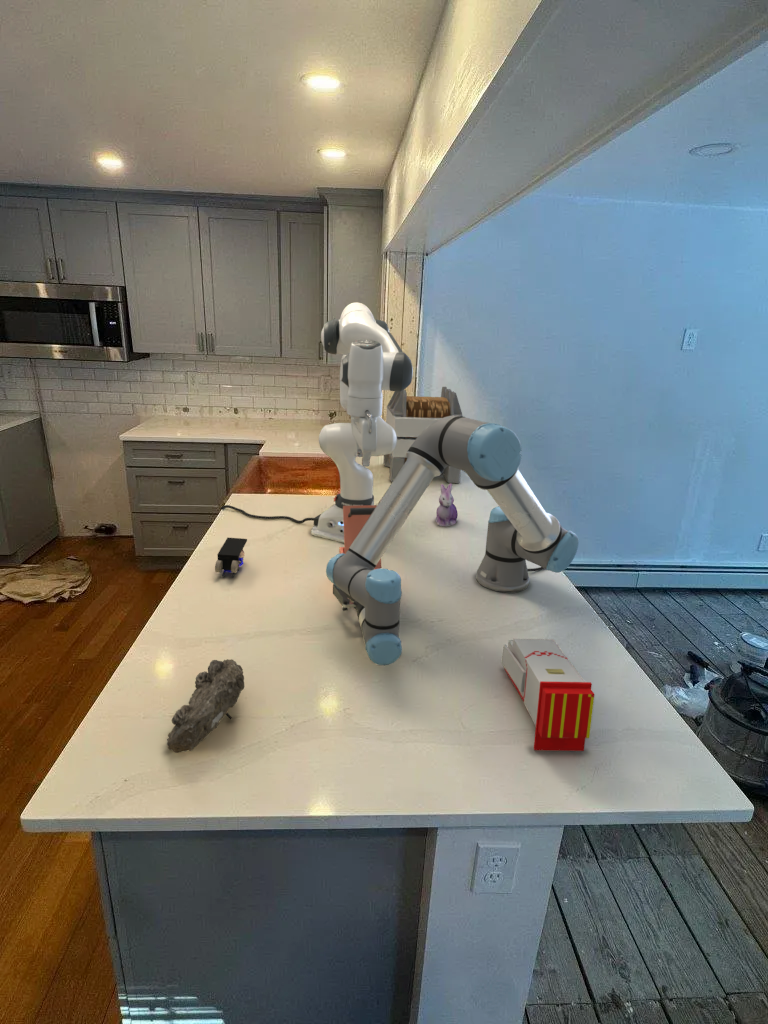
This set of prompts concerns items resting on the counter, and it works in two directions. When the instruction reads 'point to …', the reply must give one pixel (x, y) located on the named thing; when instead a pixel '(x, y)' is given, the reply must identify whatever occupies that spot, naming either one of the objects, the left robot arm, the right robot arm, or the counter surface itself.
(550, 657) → the toy
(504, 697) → the counter surface
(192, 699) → the fossil
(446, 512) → the figurine
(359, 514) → the lid
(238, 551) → the figurine character
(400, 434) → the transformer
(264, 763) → the counter surface
